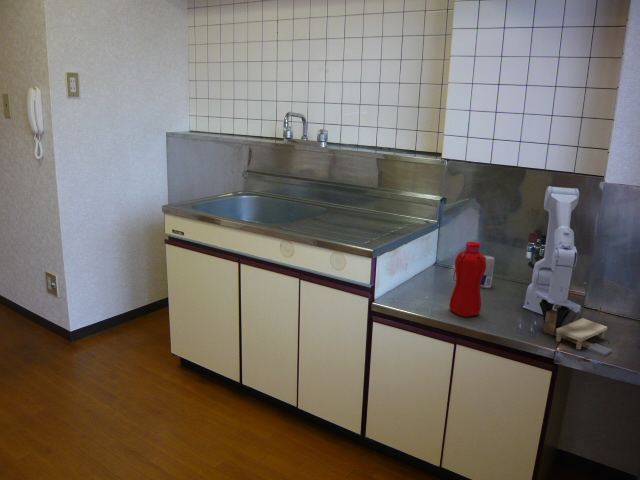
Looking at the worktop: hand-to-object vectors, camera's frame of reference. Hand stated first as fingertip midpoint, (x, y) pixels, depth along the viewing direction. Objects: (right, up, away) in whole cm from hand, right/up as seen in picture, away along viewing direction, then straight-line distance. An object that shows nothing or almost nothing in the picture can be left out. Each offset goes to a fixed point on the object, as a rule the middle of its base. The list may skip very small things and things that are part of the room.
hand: (552, 325), depth 175 cm
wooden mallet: (+3, -4, -4) cm, 6 cm away
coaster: (+9, -6, -11) cm, 16 cm away
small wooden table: (+7, -4, -4) cm, 9 cm away
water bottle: (-25, +2, +13) cm, 29 cm away
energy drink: (-10, +9, +41) cm, 43 cm away
